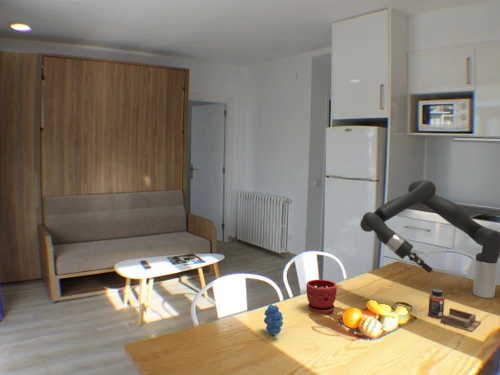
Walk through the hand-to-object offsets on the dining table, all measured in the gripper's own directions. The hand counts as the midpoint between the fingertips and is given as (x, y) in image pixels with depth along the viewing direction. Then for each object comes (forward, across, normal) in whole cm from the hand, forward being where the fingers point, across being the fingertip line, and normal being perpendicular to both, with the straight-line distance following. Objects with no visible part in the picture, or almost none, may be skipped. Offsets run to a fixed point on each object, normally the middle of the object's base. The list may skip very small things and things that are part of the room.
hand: (430, 271), depth 176 cm
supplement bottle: (+13, +5, +14) cm, 20 cm away
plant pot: (-23, -8, +44) cm, 50 cm away
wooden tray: (+21, +1, +9) cm, 23 cm away
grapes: (-28, -39, +56) cm, 74 cm away
